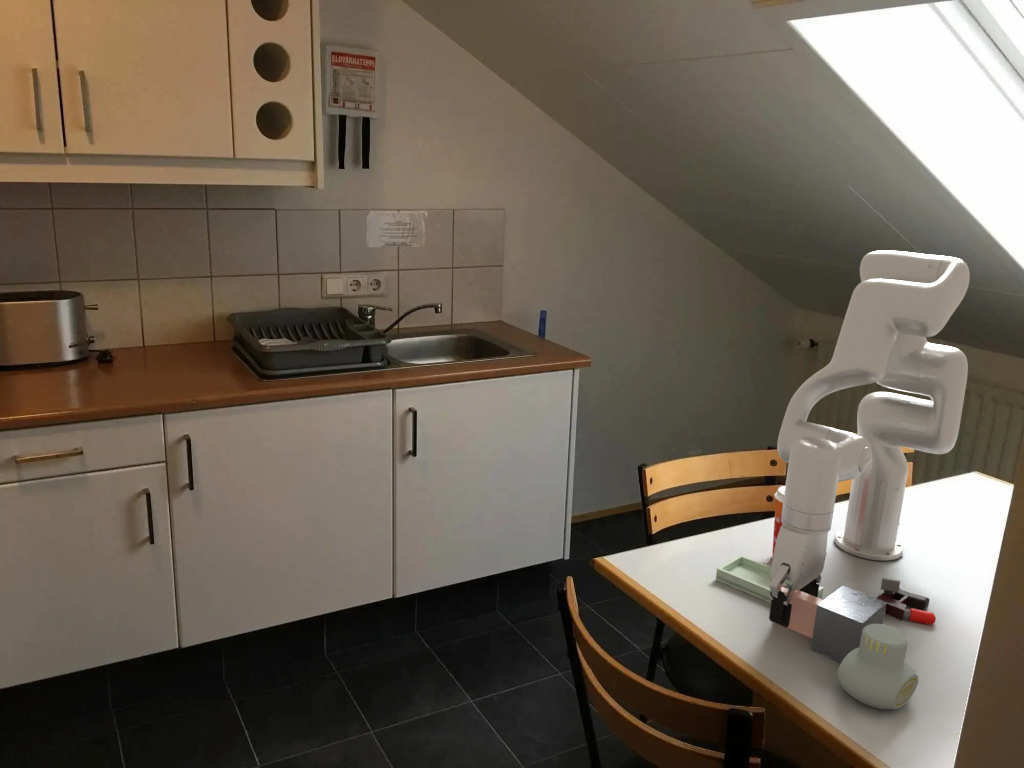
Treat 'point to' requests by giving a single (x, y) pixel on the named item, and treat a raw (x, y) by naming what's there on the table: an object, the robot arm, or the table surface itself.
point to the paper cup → (778, 514)
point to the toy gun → (904, 603)
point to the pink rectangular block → (802, 612)
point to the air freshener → (879, 669)
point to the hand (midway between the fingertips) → (792, 612)
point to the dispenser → (844, 622)
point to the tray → (750, 577)
